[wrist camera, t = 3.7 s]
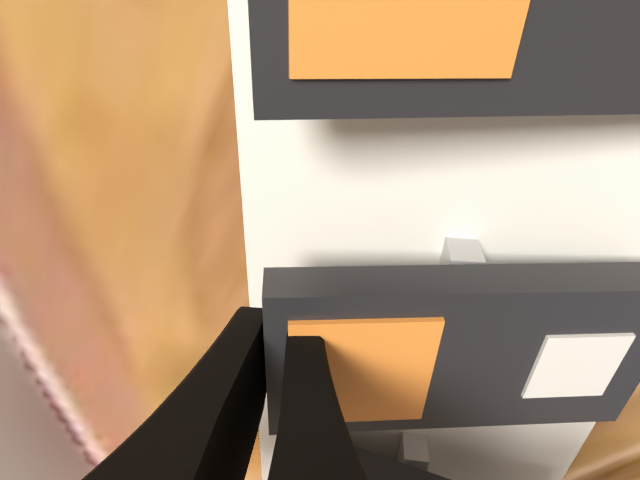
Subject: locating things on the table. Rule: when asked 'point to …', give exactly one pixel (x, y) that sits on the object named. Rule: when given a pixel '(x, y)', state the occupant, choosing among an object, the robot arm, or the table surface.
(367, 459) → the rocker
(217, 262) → the table surface
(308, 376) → the robot arm
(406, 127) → the switch strip
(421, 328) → the rocker middle
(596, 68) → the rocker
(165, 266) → the table surface
